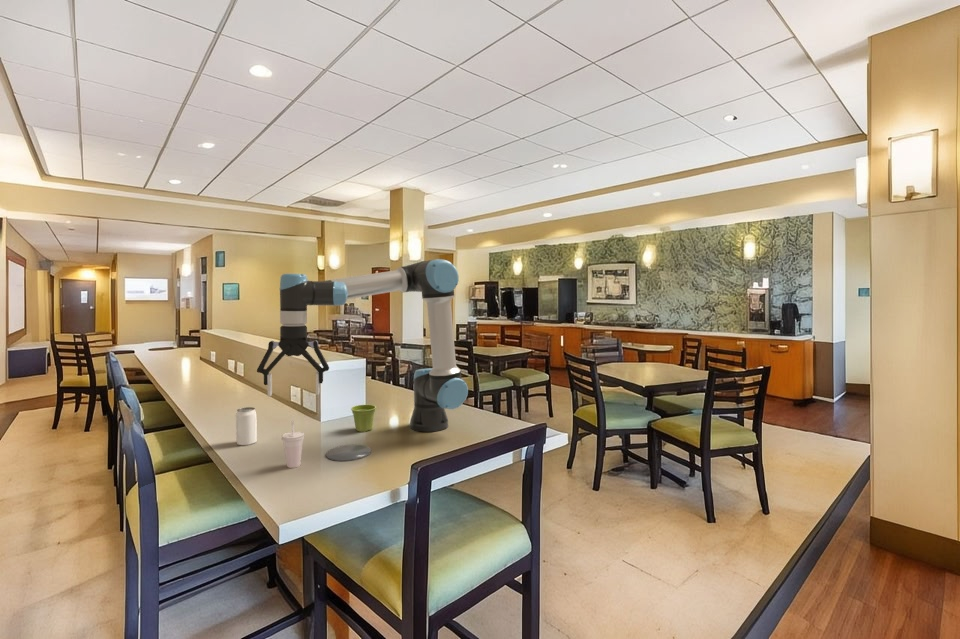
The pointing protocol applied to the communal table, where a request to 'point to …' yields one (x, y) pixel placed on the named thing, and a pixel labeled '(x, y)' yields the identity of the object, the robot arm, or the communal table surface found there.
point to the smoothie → (293, 447)
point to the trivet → (348, 452)
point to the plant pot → (363, 417)
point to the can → (246, 426)
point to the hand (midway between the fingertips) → (294, 394)
